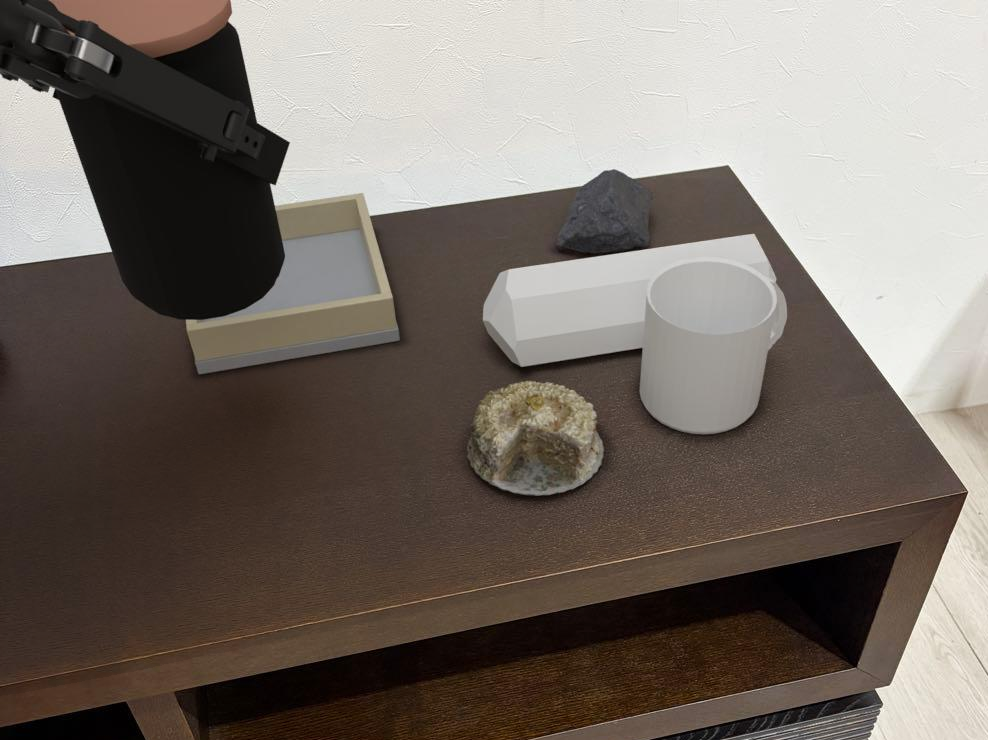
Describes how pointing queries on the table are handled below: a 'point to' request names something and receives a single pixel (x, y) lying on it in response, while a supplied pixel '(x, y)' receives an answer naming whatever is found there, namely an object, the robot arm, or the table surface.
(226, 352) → the shallow square crate
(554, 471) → the cake
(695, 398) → the mug
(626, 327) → the crystal
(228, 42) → the coffee jar
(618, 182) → the rock
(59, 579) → the table surface
